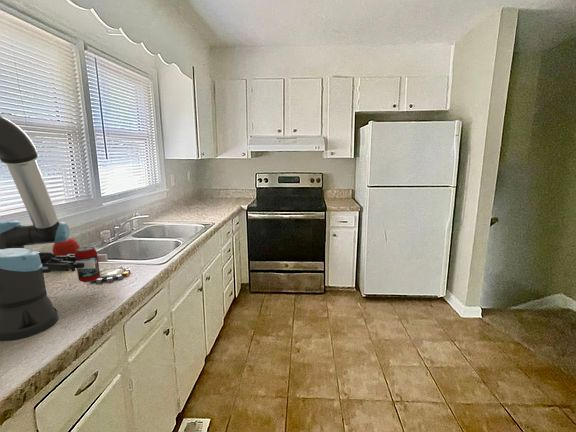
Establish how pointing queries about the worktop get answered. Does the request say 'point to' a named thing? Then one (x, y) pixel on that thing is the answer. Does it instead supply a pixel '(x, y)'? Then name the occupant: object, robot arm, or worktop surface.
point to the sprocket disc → (112, 274)
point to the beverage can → (87, 255)
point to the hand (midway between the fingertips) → (100, 261)
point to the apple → (65, 247)
